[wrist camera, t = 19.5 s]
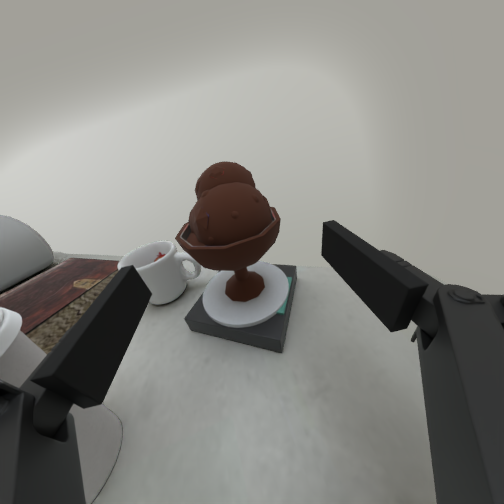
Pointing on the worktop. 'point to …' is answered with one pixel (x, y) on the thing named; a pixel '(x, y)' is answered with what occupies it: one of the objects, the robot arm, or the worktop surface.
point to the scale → (247, 308)
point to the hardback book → (58, 298)
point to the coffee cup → (86, 420)
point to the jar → (21, 252)
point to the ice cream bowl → (230, 227)
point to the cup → (161, 269)
